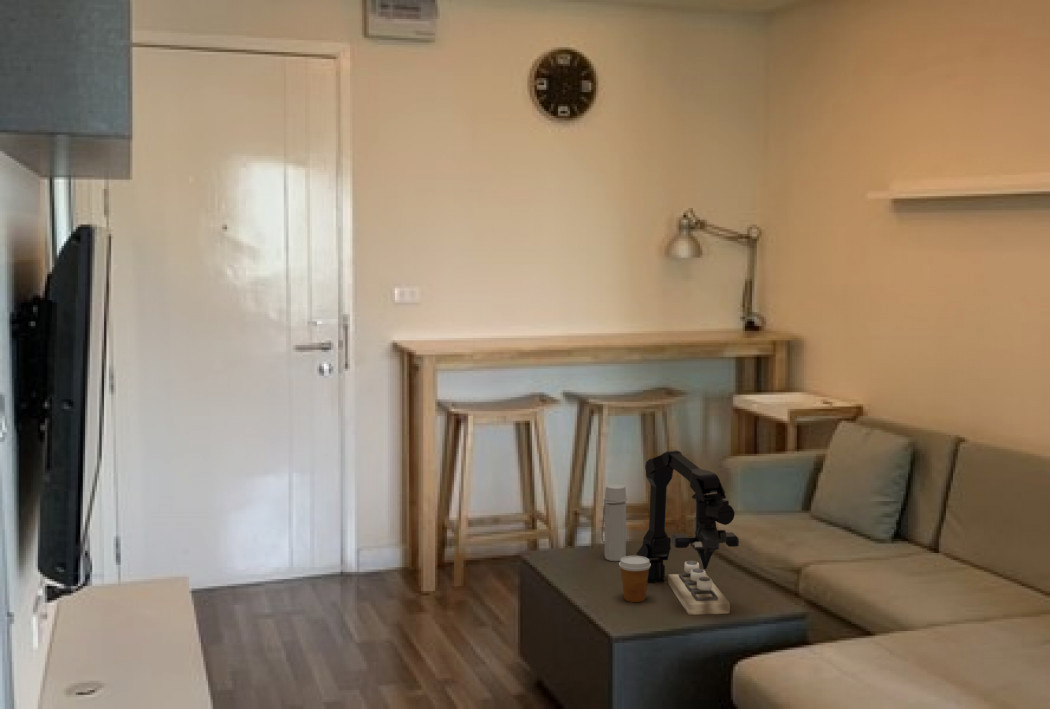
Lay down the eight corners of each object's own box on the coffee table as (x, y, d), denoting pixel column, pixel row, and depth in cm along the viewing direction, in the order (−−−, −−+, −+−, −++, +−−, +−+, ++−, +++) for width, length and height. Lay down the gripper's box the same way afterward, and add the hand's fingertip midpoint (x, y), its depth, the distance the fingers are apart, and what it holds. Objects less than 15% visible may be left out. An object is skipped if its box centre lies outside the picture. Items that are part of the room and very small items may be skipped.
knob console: (688, 614, 307) (688, 601, 307) (668, 583, 335) (668, 571, 335) (729, 613, 308) (729, 599, 308) (705, 582, 336) (706, 570, 336)
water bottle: (630, 558, 362) (631, 485, 359) (617, 563, 356) (618, 490, 353) (607, 553, 368) (608, 482, 365) (595, 558, 362) (595, 486, 359)
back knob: (686, 573, 327) (686, 564, 326) (683, 569, 331) (683, 560, 331) (700, 573, 327) (700, 564, 327) (697, 568, 331) (697, 559, 331)
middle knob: (692, 581, 319) (692, 572, 318) (688, 577, 323) (689, 568, 323) (706, 581, 319) (707, 572, 319) (703, 576, 323) (703, 567, 323)
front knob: (698, 590, 311) (698, 581, 310) (695, 585, 315) (695, 576, 315) (713, 590, 311) (713, 580, 311) (709, 585, 315) (710, 575, 315)
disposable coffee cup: (629, 606, 315) (630, 566, 314) (612, 596, 323) (612, 557, 322) (656, 600, 319) (657, 561, 318) (639, 591, 328) (639, 553, 326)
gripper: (680, 524, 302) (679, 578, 304) (744, 523, 304) (743, 576, 305) (671, 514, 313) (670, 566, 315) (734, 513, 315) (733, 564, 316)
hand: (704, 568), depth 313 cm, fingers closed
